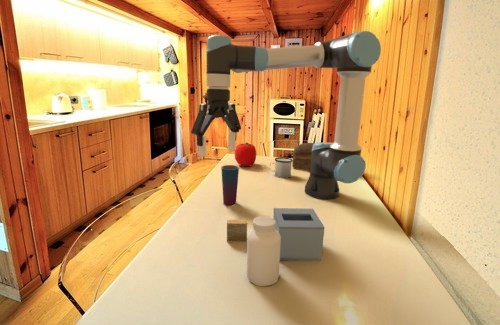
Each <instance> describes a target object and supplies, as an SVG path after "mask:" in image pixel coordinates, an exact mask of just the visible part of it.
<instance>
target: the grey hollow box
mask: <svg viewBox="0 0 500 325" xmlns="http://www.w3.org/2000/svg"><path fill="white" fill-rule="evenodd" d="M272 218H273V219H274V220H275V221H276V230H277V231H278V232H279V234H280V237H281V245H280V261H281V262H283V261H288V262H289V261H293V262H294V261H295V262H297V261H300V262H301V261H302V262H305V261H306V262H307V261H309V262H310V261H311V262H315V261H316V262H318V261H319V262H321V261H322V254H323V246H324V236H325V226H324V224H323V222H322V221H321V219H320V217H319V216H318V214H317V213H316V211H315V209H314V208H300V207H299V208H297V207H296V208H292V207H291V208H290V207H289V208H287V207H285V208H283V207H282V208H281V207H280V208H279V207H277V208H276V207H274V208H273V215H272Z"/></svg>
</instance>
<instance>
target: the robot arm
mask: <svg viewBox="0 0 500 325" xmlns="http://www.w3.org/2000/svg"><path fill="white" fill-rule="evenodd" d="M205 52H206V87H208V88H206V100H207V103H200V104H199V105H198V106H199V107H198V113H197V115H196V118H195V121H194V122H193V123H194V124H192V125H193V126H192V129H191V135H195V136H196V145H197V147H198V156H200V157H206V156H207V155H206V154H207V152H206V151H207V149H206V148H207V142H206V141H207V139H206V136H207V135H205V134H206V132H207V130H208V129H209V127H210V126H211V125H212V124H211V123H212V122H213V120H215V119H219V118H222V119H223V121H224V122H225V124H226V126H227V127H228V128H229V130H230V131H228V142H227V143H228V146H227V147H228V148H227V149H228V150H229V151H232V152H235V149H236V142H237V135H238V134H237V133H239V132H240V131H241V130H242V126H241V123H240V120H239V116H238V113H237V110H236V103H233V102H231V103H230V100H231V90H230V89H229V88H230V87H231V71H232V72H233V73H236V74H242V73H248V72H249V73H250V72H256V73H257V72H264V71H271V70H281V69H282V70H284V69H293V68H294V69H295V68H306V67H314V68H315V69H336V74H337V75H338V77H339V78H340V82H339V93H338V99H337V100H338V101H337V111H336V120H335V121H336V122H335V130H334V141H333V142H314V143H315V144H313V147H312V156H311V168H310V171H309V176H308V178H307V181H306V182H305V183H306V184H305V185H304V193H305V195H307V196H310V197H311V198H315V199H320V200H321V199H323V200H330V199H331V200H333V199H337V198H339V196H340V187H339V182H341V183H343V184H354V183H355V182H357V181H358V180H359V179H360V178H361V177H363V175H364V173H365V171H366V167H367V166H366V160H364V157H362V156H361V154H362V147H361V146H360V145H359V136H360V128H361V119H362V112H363V110H362V109H363V102H364V93H365V86H366V79H367V77H368V76H369V75H371V73H372V67H373V65H375V64H376V63H377V61H379V59H380V56H381V52H382V47H381V42H380V40H379V38H378V37H377V35H376V34H374V33H373V32H371V31H369V30H368V31H367V30H361V31H354V32H353V33H350V34H349V33H348V34H346V35H342V36H338V37H336V38H333V39H329V40H325V41H318V42H316V43H314V45H313V44H312V45H301V46H300V45H299V46H285V47H273V48H266V47H263V46H262V47H261V46H258V45H256V46H253V45H242V44H241V45H240V44H239V45H238V44H233V42H232V38H231V37H230V36H226V35H219V34H218V35H217V34H216V35H210V36H208V38H207V39H206V51H205Z"/></svg>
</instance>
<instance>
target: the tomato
mask: <svg viewBox="0 0 500 325" xmlns="http://www.w3.org/2000/svg"><path fill="white" fill-rule="evenodd" d="M234 159H235V161H236V162H237V164H238V165H239V166H242V167H251V166H253V165H254V164H255V162H256V159H257V150H256V146H255V145H254V144H252V143H248V142H245V143H239V144H237V145H236V146H235V151H234Z"/></svg>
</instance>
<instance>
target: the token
mask: <svg viewBox="0 0 500 325" xmlns="http://www.w3.org/2000/svg"><path fill="white" fill-rule="evenodd" d="M247 237H248V220H247V219H227V220H226V242H231V243H232V242H237V243H238V242H241V243H243V242H244V243H245V242H246V243H247Z"/></svg>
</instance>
